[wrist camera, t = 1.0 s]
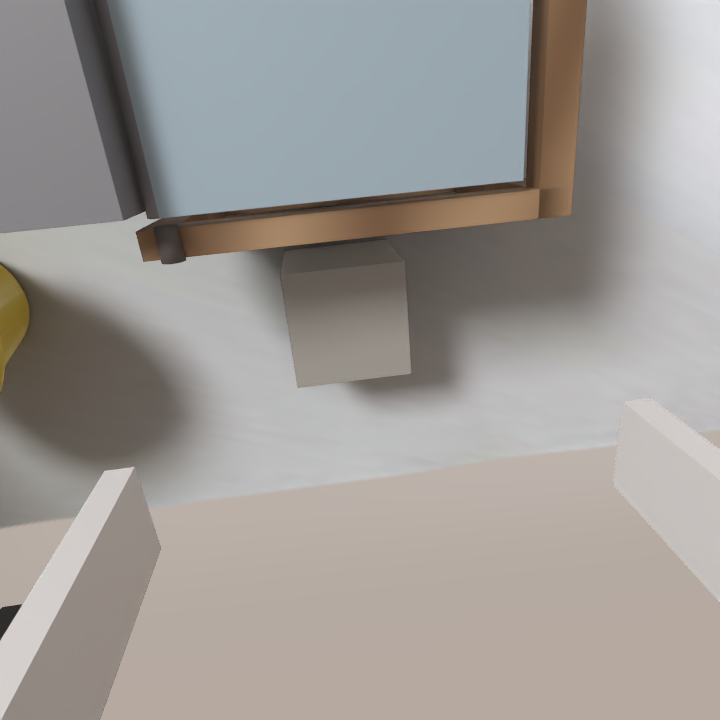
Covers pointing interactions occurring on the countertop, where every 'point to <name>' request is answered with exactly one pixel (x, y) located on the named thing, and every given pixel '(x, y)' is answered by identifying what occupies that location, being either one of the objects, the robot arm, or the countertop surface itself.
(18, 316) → the plant pot
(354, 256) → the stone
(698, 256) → the countertop surface
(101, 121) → the trapdoor
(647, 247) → the countertop surface
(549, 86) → the trapdoor frame
